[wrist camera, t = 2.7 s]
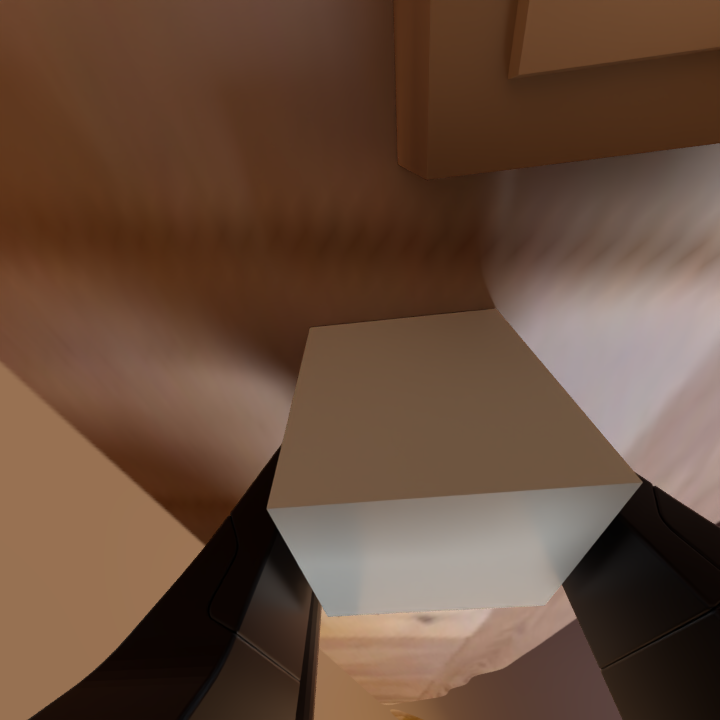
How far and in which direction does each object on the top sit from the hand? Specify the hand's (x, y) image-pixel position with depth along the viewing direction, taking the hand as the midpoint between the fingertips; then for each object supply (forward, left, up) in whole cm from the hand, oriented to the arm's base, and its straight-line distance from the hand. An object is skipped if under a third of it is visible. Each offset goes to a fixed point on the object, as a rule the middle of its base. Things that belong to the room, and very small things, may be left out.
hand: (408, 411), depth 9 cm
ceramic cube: (0, 0, -1) cm, 1 cm away
